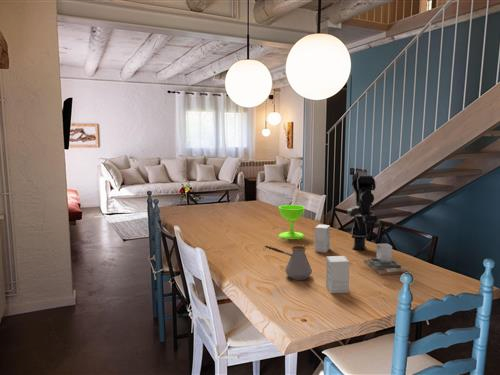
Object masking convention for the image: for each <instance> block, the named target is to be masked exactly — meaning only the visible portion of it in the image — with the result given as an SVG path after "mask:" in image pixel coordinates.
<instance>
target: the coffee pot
mask: <svg viewBox="0 0 500 375" xmlns="http://www.w3.org/2000/svg"><path fill="white" fill-rule="evenodd" d="M266 249H269V250H271V251H274V252H277V253H281V254H284V255H286V256H287V255H288V256H290V257H289V260H288V262H287V264H286V267H285V269H284V271H285V273H286V275H287V276H288V277H289V278H290V279H292V280H297V281H304V280H306V279H308V278H309V277H310V276H311V275H312V272H313V270H312V267H311V264H310V263H309V259H308V257H307V255H306V253H305V252H306V250H307V247H306V246H303V245H293V246H291V248H290V249H291V251H292V252H291V253H290V252H288V251H284V250H281V249H279V248H276V247H272V246H268V245H264V246H263V251H265V250H266Z"/></svg>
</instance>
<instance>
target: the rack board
mask: <svg viewBox="0 0 500 375" xmlns="http://www.w3.org/2000/svg"><path fill="white" fill-rule="evenodd" d="M376 259H377V257H375V258H374V257H373V258H367V259H364V260H363V263H365V264H366V265H367V266H368V267H369V268H371V269H372V270H373V271H374V272H376V273H377V274H378V275H379V276H382V275H383V276H384V275H385V276H387V275H389V276H390V275H404V274H403V273H405V272H408V274H409V271H408V269H406V268H404V267H402V265H401V264H400V263H398V262H397V261H395V260H394V259H392V265H379V264H378V263H376Z"/></svg>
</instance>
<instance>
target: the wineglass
mask: <svg viewBox="0 0 500 375" xmlns="http://www.w3.org/2000/svg"><path fill="white" fill-rule="evenodd" d="M305 209H306V207H305V206H303V205H297V204H285V205H279V206H278V212H279V215H280V216H281V217H282V218H283V219H284V220H287V221H290V222H289V231H285V232H284V231H283V232H280V233H279V234H278V238H280V237H281V238H280V239H282V238H285V239H284V240H288V239H297V240H302V239H304V238H305V234H304V233H302V232H298V231H294V221H298V220H299V219H300V218H301V217H302V216H303V215H304V214H305V211H306V210H305ZM301 238H302V239H301Z"/></svg>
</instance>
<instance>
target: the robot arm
mask: <svg viewBox="0 0 500 375" xmlns="http://www.w3.org/2000/svg"><path fill="white" fill-rule="evenodd" d="M351 186H352V191H353V192H354V193H355V194H354V195H355V206H351V207H348V208H347V209H346V212H347V215H348V217H354V218H355V221H354V223H353V226H352V228H351V234H350V235H351V239H354V240H353V241H354V242H353V243H354V244H353V247H352V250H356V251H366V249H367V246H366V239H369V238H370V233H371V232H372V229H373V228H374V227H375V225H376V223H378V222H379V217H378V215H376V214H374V213H373V212H372V210H371V209H372V207H373V203H374V201H375V196H374V194H373V193H372V191H375V189H377V186H376V180H375V177H373V175H368V173H367V171H366V170H361V169H360V170H355V174H353V175H352V176H351Z"/></svg>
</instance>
